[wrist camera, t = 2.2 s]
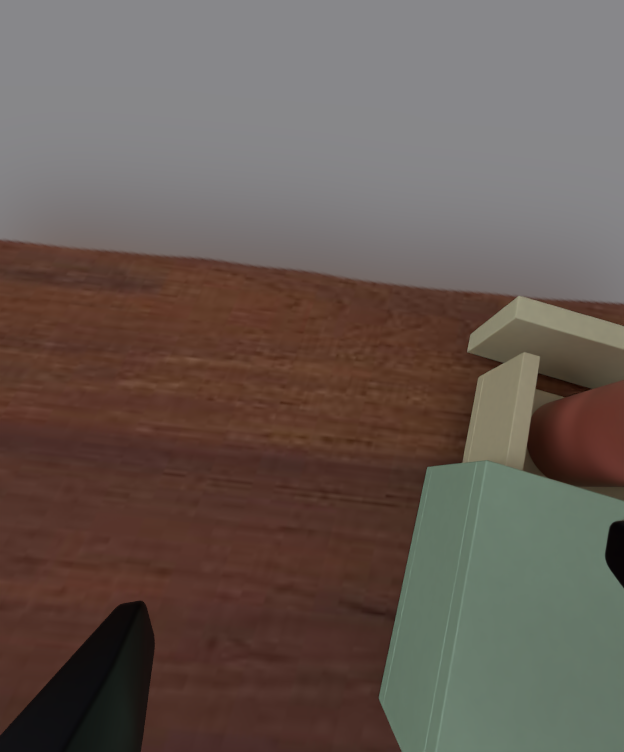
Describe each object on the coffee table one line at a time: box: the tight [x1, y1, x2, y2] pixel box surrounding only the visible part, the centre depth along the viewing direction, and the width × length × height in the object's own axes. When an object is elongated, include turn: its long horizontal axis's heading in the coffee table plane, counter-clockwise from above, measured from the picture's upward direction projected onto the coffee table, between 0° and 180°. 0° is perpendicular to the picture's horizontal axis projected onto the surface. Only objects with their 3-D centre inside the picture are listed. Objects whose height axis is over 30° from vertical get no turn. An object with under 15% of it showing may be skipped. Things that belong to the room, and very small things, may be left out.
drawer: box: [462, 296, 624, 500], centre depth 21 cm, size 12×12×5 cm
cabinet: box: [379, 460, 624, 752], centre depth 19 cm, size 12×13×7 cm
